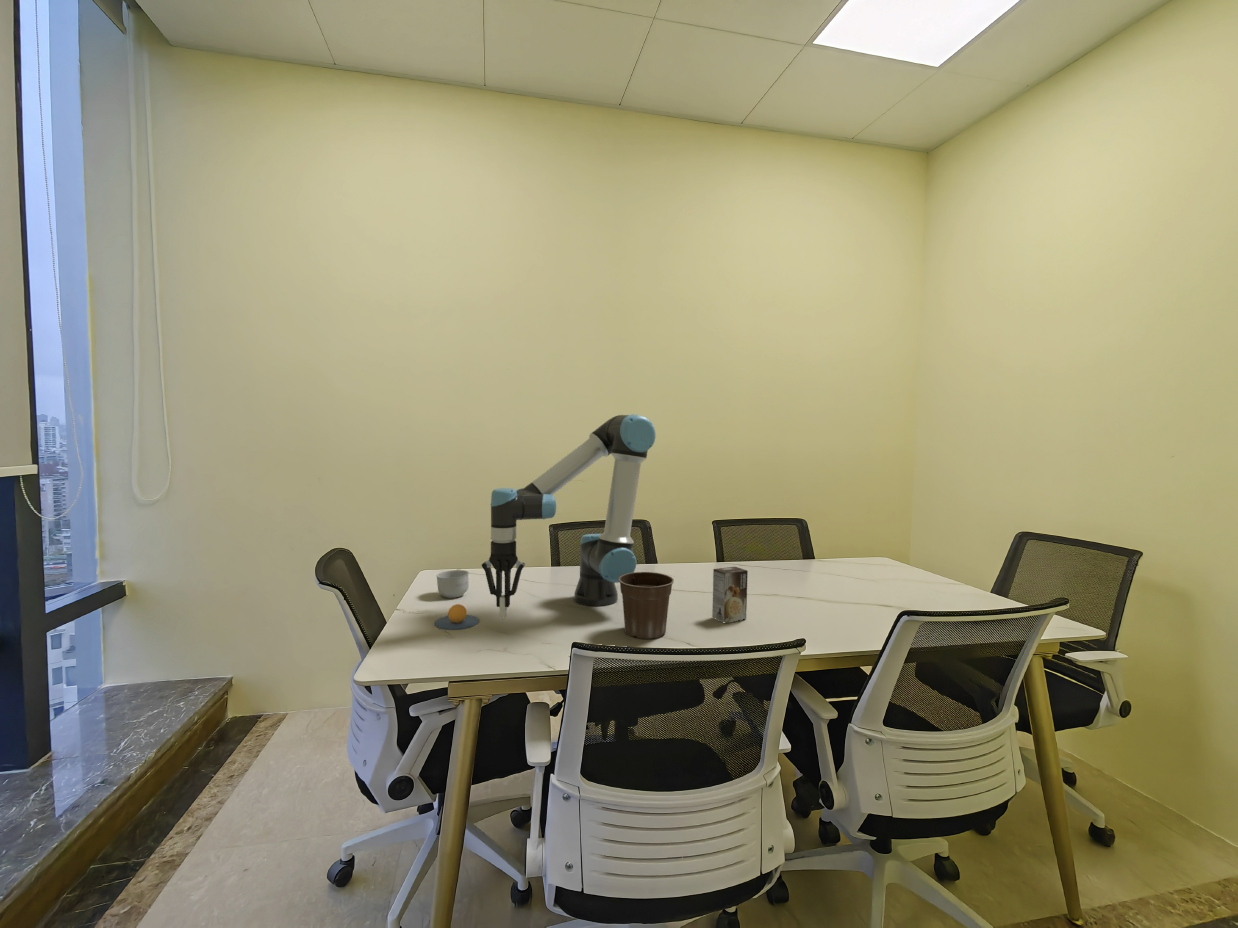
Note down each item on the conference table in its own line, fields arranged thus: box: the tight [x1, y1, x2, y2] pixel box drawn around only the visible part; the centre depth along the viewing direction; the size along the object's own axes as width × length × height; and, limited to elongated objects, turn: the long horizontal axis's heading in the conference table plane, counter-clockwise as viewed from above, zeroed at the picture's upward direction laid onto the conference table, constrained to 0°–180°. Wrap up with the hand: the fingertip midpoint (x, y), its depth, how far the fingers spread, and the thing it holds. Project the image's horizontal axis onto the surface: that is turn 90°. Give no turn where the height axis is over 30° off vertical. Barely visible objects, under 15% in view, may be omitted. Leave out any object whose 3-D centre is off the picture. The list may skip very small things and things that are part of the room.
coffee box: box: [711, 566, 749, 623], centre depth 184 cm, size 9×6×16 cm
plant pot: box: [618, 571, 675, 640], centre depth 170 cm, size 16×16×16 cm
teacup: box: [436, 568, 470, 599], centre depth 203 cm, size 14×11×8 cm
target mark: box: [434, 614, 480, 631], centre depth 175 cm, size 13×13×1 cm
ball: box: [447, 603, 468, 623], centre depth 175 cm, size 6×6×6 cm
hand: (503, 617), depth 175 cm, fingers closed
